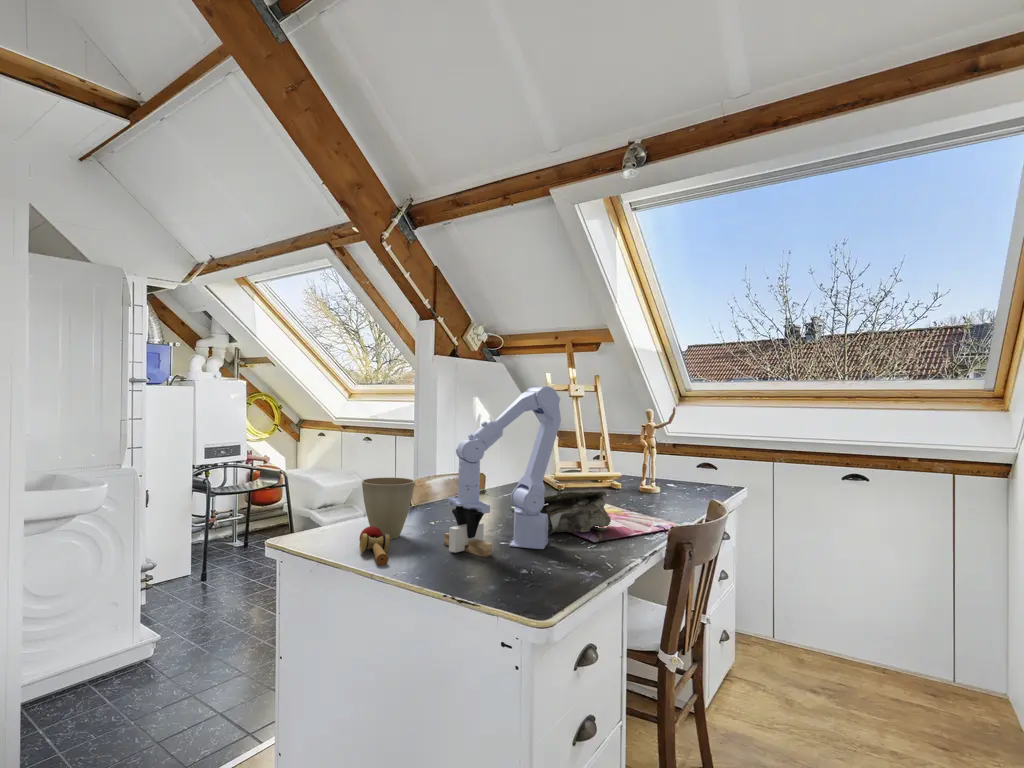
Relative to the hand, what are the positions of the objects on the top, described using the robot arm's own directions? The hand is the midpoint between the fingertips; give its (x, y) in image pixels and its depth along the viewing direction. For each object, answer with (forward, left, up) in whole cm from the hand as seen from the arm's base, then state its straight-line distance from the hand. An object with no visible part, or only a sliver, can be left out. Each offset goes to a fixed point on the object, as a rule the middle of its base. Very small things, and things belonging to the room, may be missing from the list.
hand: (467, 536), depth 147 cm
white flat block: (0, 0, -3) cm, 3 cm away
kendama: (+20, +12, -4) cm, 24 cm away
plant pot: (+26, -6, -4) cm, 27 cm away
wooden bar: (0, 0, -3) cm, 3 cm away
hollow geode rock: (-23, -30, -4) cm, 38 cm away
